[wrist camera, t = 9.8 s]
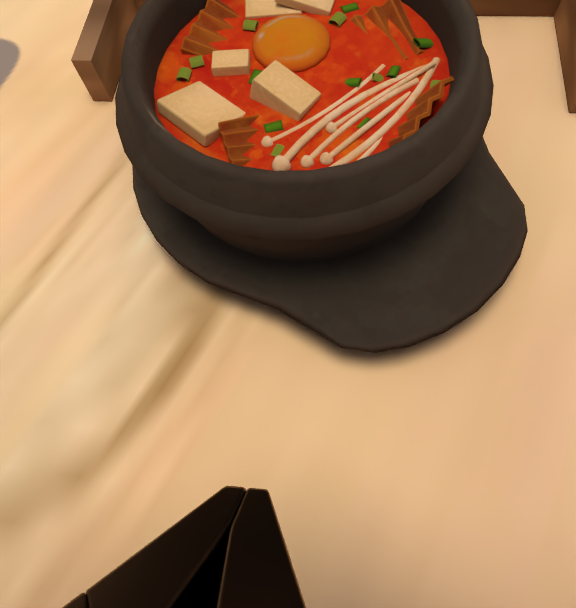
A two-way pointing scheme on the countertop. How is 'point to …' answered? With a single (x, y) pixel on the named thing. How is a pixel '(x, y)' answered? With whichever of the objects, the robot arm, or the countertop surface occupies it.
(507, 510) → the countertop surface
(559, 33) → the stop frame
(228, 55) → the casserole
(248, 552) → the robot arm
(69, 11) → the countertop surface
